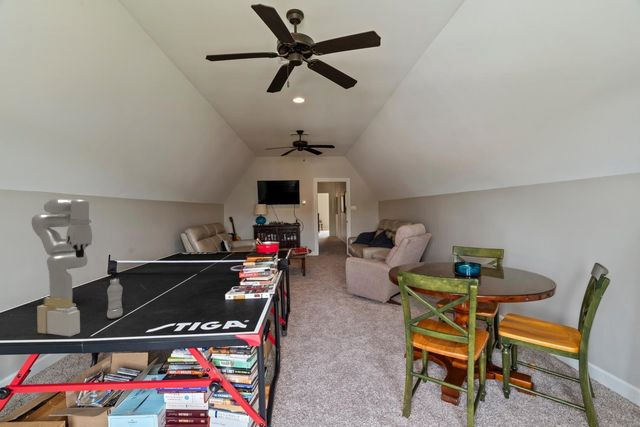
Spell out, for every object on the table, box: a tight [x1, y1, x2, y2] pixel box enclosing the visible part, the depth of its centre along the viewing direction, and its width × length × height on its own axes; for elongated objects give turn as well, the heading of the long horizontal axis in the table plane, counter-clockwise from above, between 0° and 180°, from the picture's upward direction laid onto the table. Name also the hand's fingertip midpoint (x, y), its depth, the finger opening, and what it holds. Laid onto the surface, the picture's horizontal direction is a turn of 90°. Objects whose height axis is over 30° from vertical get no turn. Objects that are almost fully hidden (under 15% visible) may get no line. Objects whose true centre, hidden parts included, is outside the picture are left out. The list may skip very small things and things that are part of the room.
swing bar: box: [43, 296, 73, 307], centre depth 127 cm, size 15×3×3 cm, turn 73°
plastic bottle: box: [106, 277, 124, 320], centre depth 144 cm, size 6×7×20 cm
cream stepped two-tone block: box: [36, 304, 81, 337], centre depth 127 cm, size 20×5×12 cm, turn 75°
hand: (79, 257), depth 148 cm, fingers closed
